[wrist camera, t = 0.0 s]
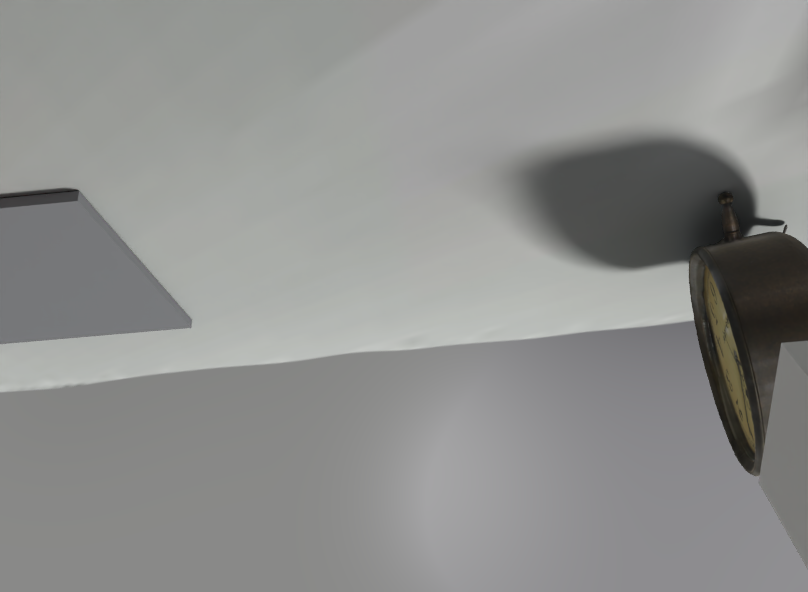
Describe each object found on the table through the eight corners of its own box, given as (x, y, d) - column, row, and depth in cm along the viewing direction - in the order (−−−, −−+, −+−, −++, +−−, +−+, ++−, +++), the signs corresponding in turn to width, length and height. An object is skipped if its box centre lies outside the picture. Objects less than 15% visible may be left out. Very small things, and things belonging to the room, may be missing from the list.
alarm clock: (688, 185, 34) (783, 564, 28) (818, 160, 33) (951, 551, 26) (679, 283, 44) (749, 582, 37) (780, 267, 43) (871, 573, 36)
